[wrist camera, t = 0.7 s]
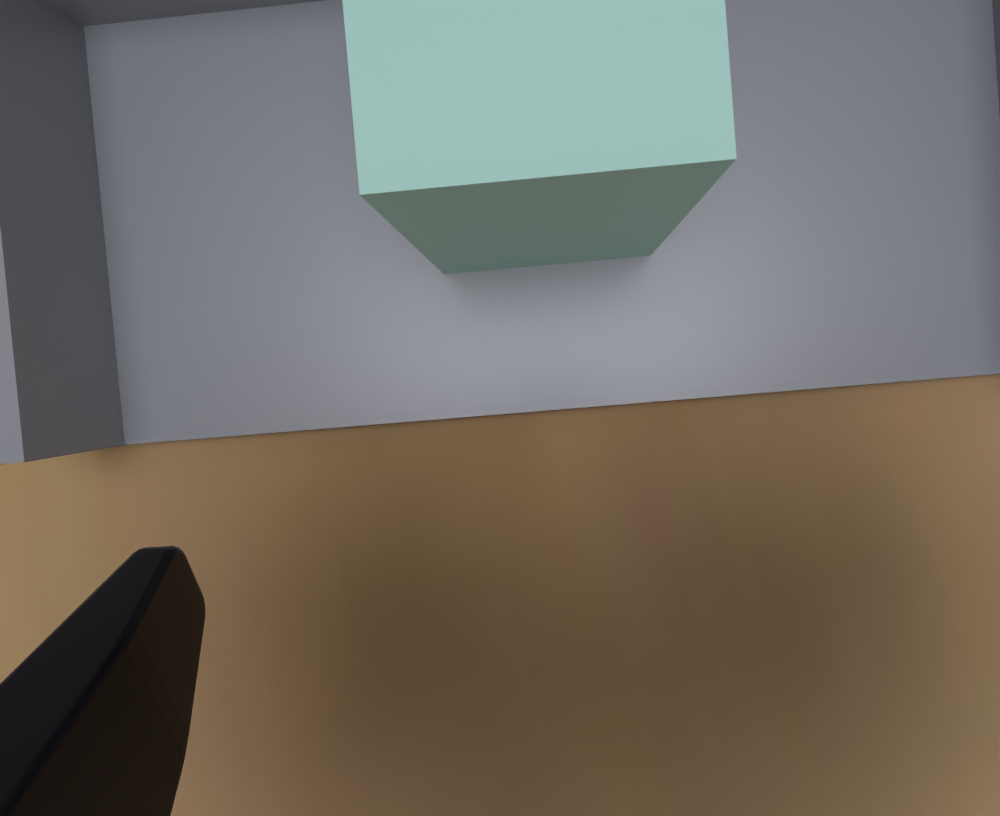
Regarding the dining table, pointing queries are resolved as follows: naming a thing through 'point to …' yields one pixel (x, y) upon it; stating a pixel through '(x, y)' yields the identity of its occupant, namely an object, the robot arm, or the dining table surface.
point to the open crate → (479, 294)
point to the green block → (538, 123)
